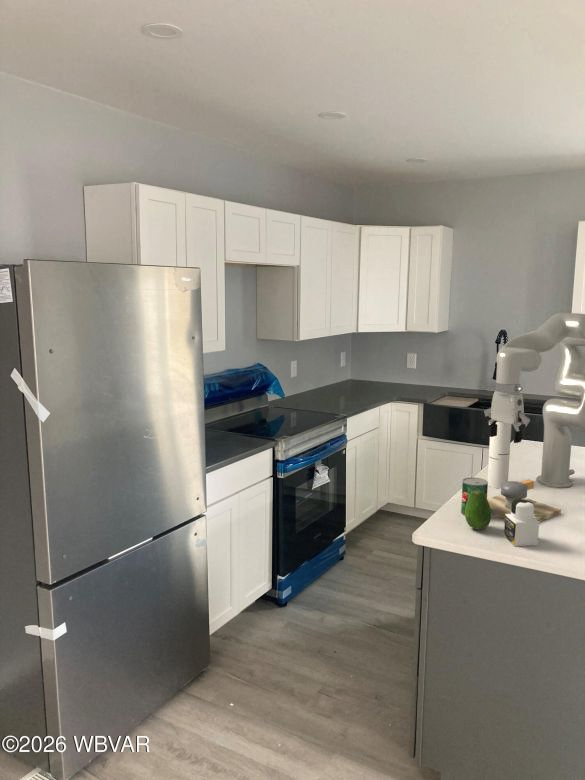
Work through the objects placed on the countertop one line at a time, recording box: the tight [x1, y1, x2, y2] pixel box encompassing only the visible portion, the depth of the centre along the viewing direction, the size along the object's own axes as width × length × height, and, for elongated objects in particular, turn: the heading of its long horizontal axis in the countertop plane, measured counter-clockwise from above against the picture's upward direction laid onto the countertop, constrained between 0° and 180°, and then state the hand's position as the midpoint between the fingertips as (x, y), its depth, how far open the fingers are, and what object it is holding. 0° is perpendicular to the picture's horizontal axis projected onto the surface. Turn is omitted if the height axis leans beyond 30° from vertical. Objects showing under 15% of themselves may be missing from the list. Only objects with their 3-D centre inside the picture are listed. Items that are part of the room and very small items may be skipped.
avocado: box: [464, 490, 493, 530], centre depth 189 cm, size 8×8×12 cm
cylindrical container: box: [487, 422, 512, 489], centre depth 229 cm, size 7×7×25 cm
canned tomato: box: [460, 477, 489, 517], centre depth 202 cm, size 8×8×11 cm
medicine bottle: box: [503, 499, 540, 547], centre depth 180 cm, size 7×7×12 cm
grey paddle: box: [500, 479, 535, 499], centre depth 205 cm, size 13×8×3 cm, turn 124°
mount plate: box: [487, 494, 562, 523], centre depth 205 cm, size 18×20×6 cm
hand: (504, 439), depth 208 cm, fingers open, 9 cm apart
